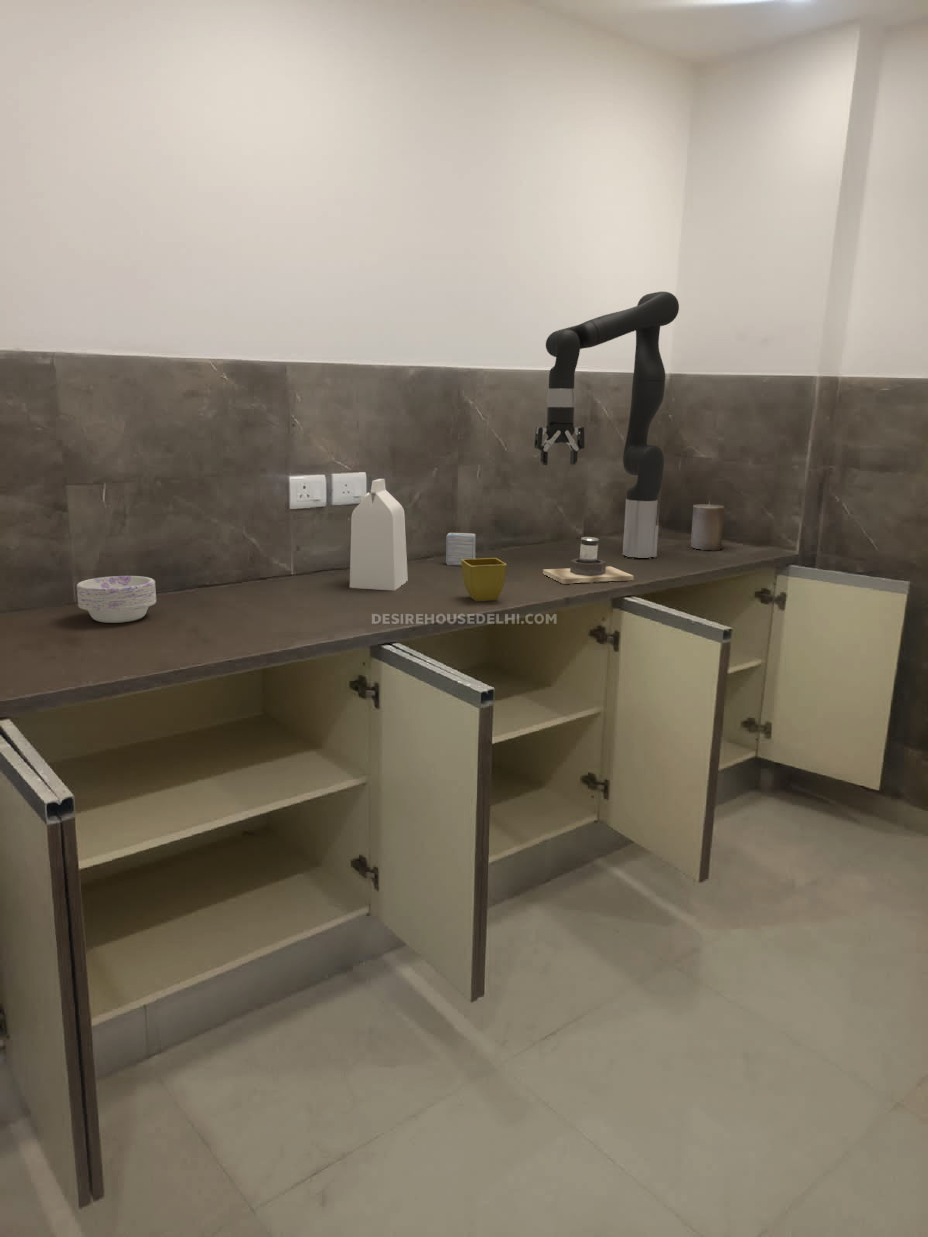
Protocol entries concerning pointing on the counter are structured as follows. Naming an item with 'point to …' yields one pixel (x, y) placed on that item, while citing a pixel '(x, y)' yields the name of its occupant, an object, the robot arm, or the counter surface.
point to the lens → (589, 550)
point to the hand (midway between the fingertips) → (558, 464)
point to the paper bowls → (116, 597)
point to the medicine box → (459, 547)
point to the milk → (378, 541)
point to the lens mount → (587, 573)
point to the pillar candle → (707, 526)
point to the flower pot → (483, 577)
